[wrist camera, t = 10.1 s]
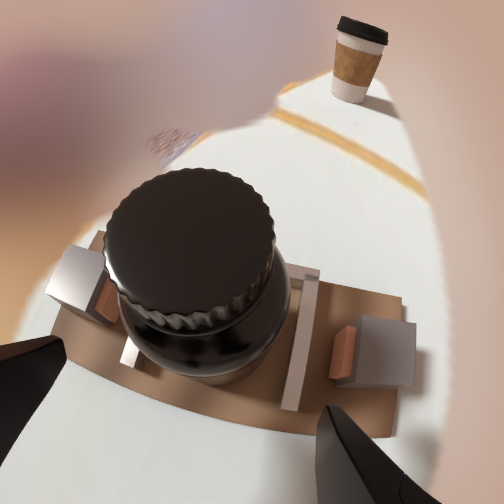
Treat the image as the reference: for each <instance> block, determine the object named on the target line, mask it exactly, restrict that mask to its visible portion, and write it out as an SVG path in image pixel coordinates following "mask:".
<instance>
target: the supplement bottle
mask: <svg viewBox="0 0 504 504" xmlns="http://www.w3.org/2000/svg"><path fill="white" fill-rule="evenodd" d="M106 228H107V231H106V233H105V235H104V237H103V241H104V247H103V250H102V254H103V256H104V258H105V261H104V268H105V270H106V271H107V272H108V274H109V280H110V283H111V284H112V285H113V287H114V288H115V289H116V290H117V291H118V296H117V297H118V308H119V313H120V317H121V320H122V323H123V325H124V328H125V330H126V332H127V334H128V335H129V337H130V339H131V340H132V342H133V343H134V344H135V346H136V347H137V348H138V349H139V350H140V351H141V352H142V353H143V354H144V355H145V356H146V357H148V358H149V359H150V360H152V361H153V362H155V363H156V364H157V365H159V366H161V367H163V368H165V369H167V370H169V371H171V372H174V373H176V374H178V375H181V376H183V377H186V378H188V379H191V380H194V381H196V382H199V383H203V384H208V385H228V384H232V383H235V382H238V381H240V380H242V379H244V378H246V377H248V376H249V375H250V374H252V373H253V372H254V371H255V370H256V369H257V368H258V367H259V366H260V364H261V363H262V362H263V360H264V359H265V357H266V355H267V354H268V352H269V351H270V349H271V347H272V346H273V344H274V342H275V341H276V339H277V337H278V335H279V333H280V331H281V329H282V328H283V325H284V323H285V320H286V318H287V314H288V311H289V306H290V299H291V285H290V278H289V273H288V269H287V266H286V264H285V261H284V259H283V257H282V255H281V253H280V251H279V250H278V248H277V247H276V245H275V243H276V235H275V232H274V220H273V219H272V217H271V216H270V209H269V207H268V206H267V205H266V204H265V203H264V202H263V198H262V196H261V195H260V194H259V193H257V192H255V191H254V188H253V187H252V186H251V185H249V184H247V183H245V182H244V181H243V180H242V179H241V178H238V177H234V176H232V175H231V174H230V173H228V172H220V171H218V170H216V169H204V168H194V169H189V168H184V169H181V170H177V171H170V172H168V173H166V174H162V175H157V176H156V177H154V178H153V179H152V180H149V181H146V182H144V183H143V184H142V185H141V186H140V187H138V188H136V189H134V190H132V192H131V193H130V195H129V196H127V197H126V198H124V199H123V200H122V201H121V203H120V205H119V207H118V208H117V209H115V210H114V211H113V214H112V218H111V219H110V221H109V222H108V223H107V227H106Z"/></svg>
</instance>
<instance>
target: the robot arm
mask: <svg viewBox="0 0 504 504" xmlns="http://www.w3.org/2000/svg"><path fill="white" fill-rule="evenodd" d="M66 361H67V355H66V351H65V346H64V342H63V340H62V339H61V338H60V337H58V336H56V335H49V336H45V337H40V338H35V339H30V340H26V341H21V342H16V343H10V344H5V345H1V346H0V467H1V465H2V463H3V461H4V460H5V458H6V456H7V454H8V453H9V451H10V449H11V448H12V446H13V445H14V443H15V441H16V440H17V438H18V437H19V435H20V433H21V432H22V430H23V429H24V427H25V426H26V424H27V423H28V421H29V420H30V418H31V417H32V415H33V414H34V412H35V411H36V409H37V408H38V407H39V405H40V404H41V402H42V401H43V399H44V398H45V397H46V395H47V394H48V392H49V391H50V389H51V387H52V386H53V384H54V382H55V380H56V379H57V377H58V375H59V373H60V372H61V370H62V368H63V367H64V365H65V363H66ZM315 472H316V484H317V496H318V504H442V503H440V502H438V501H437V500H436V499H434V498H433V497H432V496H430V495H429V494H428V493H427V492H425V491H424V490H423V489H422V488H421V487H419V486H418V485H417V484H416V483H415V482H414V481H413V480H412V479H411V478H410V477H409V476H408V475H407V474H404V472H403V471H402V470H401V469H400V468H399V467H398V466H397V465H396V464H395V463H394V462H393V461H392V460H391V459H390V458H389V457H388V456H387V455H386V454H385V453H384V452H383V451H382V450H381V449H380V448H379V447H378V446H377V445H376V444H375V443H374V442H373V441H372V439H371V438H370V437H369V436H368V435H367V434H366V433H365V432H364V431H363V430H362V429H361V428H360V427H359V426H358V425H357V424H356V423H355V422H354V421H353V420H352V419H351V417H350V416H349V415H348V414H347V413H346V412H345V411H344V410H343V409H342V408H341V407H340V406H339V405H326V406H325V407H324V409H323V411H322V413H321V416H320V418H319V420H318V422H317V427H316V457H315Z"/></svg>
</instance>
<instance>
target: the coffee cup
mask: <svg viewBox="0 0 504 504" xmlns="http://www.w3.org/2000/svg"><path fill="white" fill-rule="evenodd" d="M337 26H338V27H337V29H338V30H339V35H338V40H337V42H336V53H335V63H334V72H333V74H334V75H333V82H332V88H331V92H332V94H333V95H334V96H335V97H337V98H339V99H341V100H343V101H346V102H350V103H355V104H359V103H362V102H363V100H364V98H365V95H366V93H367V90H368V88H369V86H370V83H371V81H372V79H373V76H374V74H375V72H376V69H377V67H378V65H379V62H380V60H381V57H382V51H383V48H384V46H385V45H388V44H387V43H388V32H386V31H384V30H382V29H380V28H377V27H375V26H372V25H369V24H366V23H363V22H359V21H357V20H353V19H350V18H348V17H345V16H341V19H340V22H339V24H338V25H337Z"/></svg>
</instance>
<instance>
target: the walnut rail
mask: <svg viewBox="0 0 504 504" xmlns="http://www.w3.org/2000/svg"><path fill="white" fill-rule="evenodd" d="M105 233H106V232H104V231H100V230H98V232H97V234H96V235H95V237H94V239H93V241H92V243H91V245H90V246H89V248H88V249H85V248H82V247H79V246H75V245H72V244H69V245H68V246H67V248H66V250H65V252H64V254H63V256H62V258H61V260H60V262H59V264H58V266H57V268H56V270H55V272H54V274H53V276H52V278H51V280H50V282H49V284H48V286H47V289H46V291H45V293H46V294H48V295H49V296H50V297H52V298H53V299H54V300H56V301H57V302H58V303H60V304H61V308H60V310H59V313H58V315H57V318H56V320H55V323H54V326H53V328H52V331H51V334H50V335H56V336H58V337H60V338H61V339H62V340H63V342H64V346H65V351H66V355H67V358H68V359H70V360H72V361H73V362H75V363H77V364H79V365H81V366H83V367H85V368H86V369H88V370H90V371H92V372H94V373H96V374H98V375H100V376H102V377H105V378H107V379H109V380H111V381H113V382H115V383H117V384H120V385H122V386H124V387H127V388H129V389H131V390H134V391H136V392H139V393H141V394H144V395H146V396H149V397H151V398H154V399H157V400H159V401H162V402H165V403H168V404H171V405H174V406H177V407H180V408H183V409H186V410H189V411H193V412H196V413H199V414H203V415H206V416H210V417H214V418H218V419H222V420H226V421H230V422H234V423H239V424H243V425H248V426H253V427H258V428H264V429H269V430H276V431H282V432H289V433H297V434H306V435H316V427H317V422H318V420H319V418H320V416H321V413H322V411H323V409H324V407H325V406H326V405H339V406H340V407H341V408H342V409H343V410H344V411H345V412H346V413H347V414H348V415H349V416H350V417H351V419H352V420H353V421H354V422H355V423H356V424H357V425H358V426H359V427H360V428H361V429H362V430H363V431H364V432H365V433H366V434H367V435H368V436H369V437H370V438H386V437H390V435H391V430H392V424H393V418H394V412H395V405H396V398H397V390H398V389H399V388H404V387H409V386H414V375H415V359H416V323H410V322H403V321H402V298H401V297H396V296H391V295H386V294H381V293H376V292H371V291H367V290H362V289H357V288H352V287H347V286H342V285H338V284H333V283H328V282H323V281H319V276H320V270H317V269H312V268H307V267H303V266H298V265H294V264H289V263H285V264H286V266H287V269H288V273H289V278H290V285H291V299H290V306H289V311H288V314H287V318H286V320H285V323H284V325H283V328H282V329H281V331H280V333H279V335H278V337H277V339H276V341H275V342H274V344H273V346H272V347H271V349H270V351H269V352H268V354H267V355H266V357H265V359H264V360H263V362H262V363H261V364H260V366H259V367H258V368H257V369H256V370H255V371H254V372H253V373H252V374H250V375H249V376H248V377H246V378H244V379H242V380H240V381H238V382H235V383H232V384H228V385H208V384H203V383H199V382H196V381H194V380H191V379H188V378H186V377H183V376H181V375H178V374H176V373H174V372H171V371H169V370H167V369H165V368H163V367H161V366H159V365H157V364H156V363H155V362H153V361H152V360H150V359H149V358H148V357H146V356H145V355H144V354H143V353H142V352H141V351H140V350H139V349H138V348H137V347H136V346H135V344H134V343H133V342H132V340H131V339H130V337H129V335H128V334H127V332H126V330H125V328H124V325H123V323H122V320H121V317H120V313H119V308H118V297H117V296H118V291H117V290H116V289H115V288H114V287H113V285H112V284H111V283H110V280H109V274H108V272H107V271H106V270H105V268H104V261H105V258H104V256H103V254H102V250H103V247H104V241H103V237H104V235H105Z"/></svg>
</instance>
